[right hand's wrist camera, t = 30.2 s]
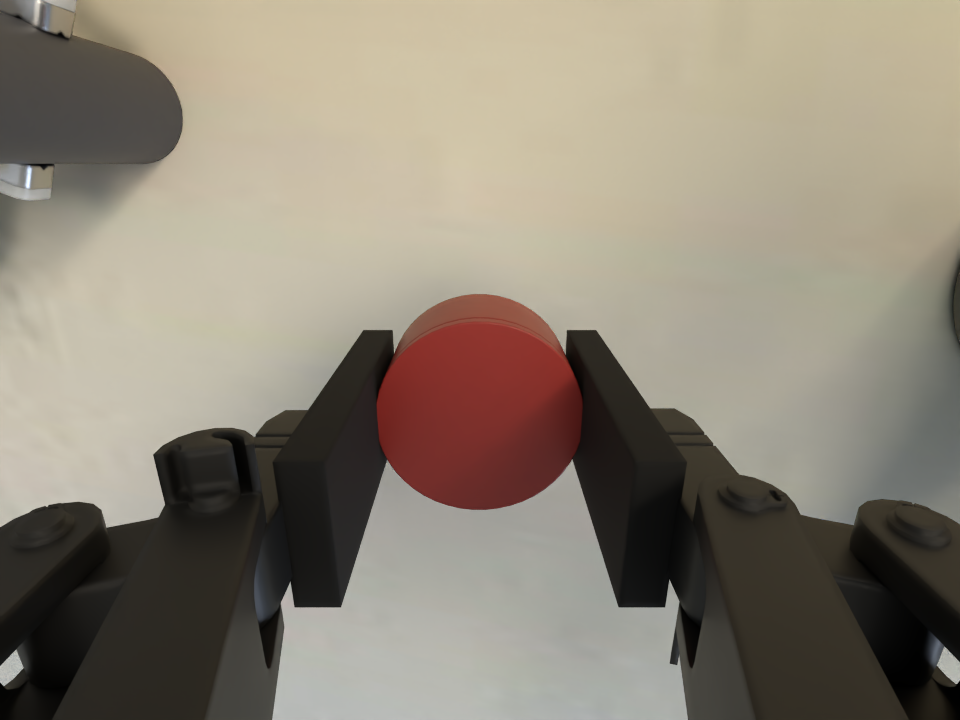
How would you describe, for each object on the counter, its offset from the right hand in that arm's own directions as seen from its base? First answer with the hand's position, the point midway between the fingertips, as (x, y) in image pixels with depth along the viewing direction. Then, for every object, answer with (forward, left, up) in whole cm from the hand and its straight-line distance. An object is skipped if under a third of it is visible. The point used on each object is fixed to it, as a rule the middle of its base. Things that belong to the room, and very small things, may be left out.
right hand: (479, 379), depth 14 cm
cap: (0, 0, +2) cm, 2 cm away
